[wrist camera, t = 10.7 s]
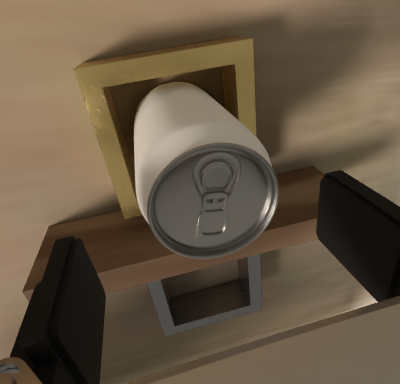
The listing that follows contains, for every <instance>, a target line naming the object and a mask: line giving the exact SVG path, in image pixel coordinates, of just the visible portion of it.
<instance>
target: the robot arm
mask: <svg viewBox="0 0 400 384" xmlns="http://www.w3.org/2000/svg"><path fill="white" fill-rule="evenodd" d="M316 235H317V237H318V239H319V240H320V241H321V242H322V243H323V245H324V246H325V247H326V248H327V249H328V250H329V251H330V252H331V253H332V254H333V255H334V256H335V257H336V258H337V259H338V260H339V261H340V263H341V264H342V265H343V266H344V267H345V268H346V269H347V270H348V271H349V272H350V273H351V274H352V275H353V276H354V277H355V278H356V279H357V281H358V282H359V283H360V284H361V285H362V286H363V287H364V288H365V289H366V290H367V291H368V292H369V293H370V294H371V295H372V296H373V297H374V298H375V299H376V301H378V303H375V304H371V305H368V306H365V307H362V308H359V309H355V310H352V311H349V312H346V313H342V314H339V315H336V316H333V317H329V318H326V319H323V320H320V321H317V322H313V323H310V324H307V325H304V326H301V327H298V328H294V329H291V330H288V331H285V332H282V333H278V334H275V335H272V336H269V337H266V338H263V339H259V340H256V341H253V342H250V343H247V344H244V345H240V346H237V347H234V348H231V349H228V350H225V351H222V352H219V353H216V354H212V355H209V356H206V357H203V358H200V359H197V360H194V361H191V362H188V363H184V364H181V365H178V366H175V367H172V368H169V369H166V370H163V371H160V372H157V373H154V374H151V375H148V376H145V377H142V378H139V379H136V380H133V381H130V382H127V383H124V384H400V207H399V206H398V205H396V204H394V203H393V202H391V201H390V200H388V199H386V198H385V197H383V196H382V195H380V194H378V193H377V192H375V191H374V190H372V189H371V188H369V187H367V186H366V185H364V184H363V183H361V182H359V181H358V180H356V179H355V178H353V177H351V176H350V175H348V174H347V173H345V172H343V171H341V170H338V171H334V172H330V173H326V174H325V175H324V178H322V179H321V181H320V191H319V203H318V214H317V226H316ZM105 301H106V296H105V291H104V288H103V286H102V283H101V281H100V279H99V277H98V275H97V272H96V270H95V268H94V266H93V264H92V261H91V259H90V257H89V255H88V252H87V250H86V248H85V246H84V244H83V241H82V240H81V238H77V239H76V238H75V237H74V236H73V235H72V236H68V237H64V238H60V239H57V240H55V242H54V245H53V248H52V251H51V254H50V257H49V260H48V263H47V266H46V269H45V272H44V275H43V278H42V281H41V282H39V283H38V284H36V286H35V288H34V291H33V294H32V296H31V299H30V302H29V305H28V308H27V310H26V313H25V316H24V319H23V322H22V324H21V327H20V330H19V333H18V335H17V338H16V341H15V344H14V347H13V349H12V352H11V355H10V357H9V358H5V359H2V360H0V384H99V382H100V369H101V355H102V342H103V328H104V315H105Z"/></svg>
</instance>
